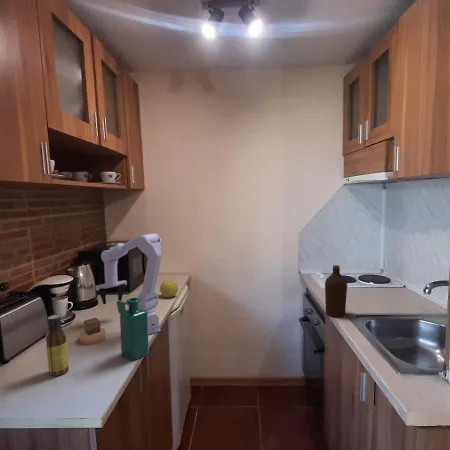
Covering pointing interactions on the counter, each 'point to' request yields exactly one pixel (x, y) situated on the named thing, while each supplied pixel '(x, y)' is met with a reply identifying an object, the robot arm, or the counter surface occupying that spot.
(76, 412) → the counter surface
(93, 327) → the walnut cube
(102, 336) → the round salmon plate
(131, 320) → the green plastic tall container
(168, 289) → the fruit
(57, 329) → the sauce bottle
